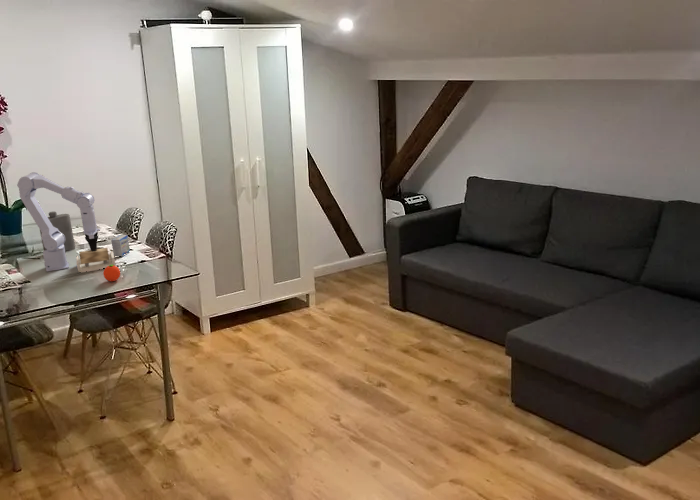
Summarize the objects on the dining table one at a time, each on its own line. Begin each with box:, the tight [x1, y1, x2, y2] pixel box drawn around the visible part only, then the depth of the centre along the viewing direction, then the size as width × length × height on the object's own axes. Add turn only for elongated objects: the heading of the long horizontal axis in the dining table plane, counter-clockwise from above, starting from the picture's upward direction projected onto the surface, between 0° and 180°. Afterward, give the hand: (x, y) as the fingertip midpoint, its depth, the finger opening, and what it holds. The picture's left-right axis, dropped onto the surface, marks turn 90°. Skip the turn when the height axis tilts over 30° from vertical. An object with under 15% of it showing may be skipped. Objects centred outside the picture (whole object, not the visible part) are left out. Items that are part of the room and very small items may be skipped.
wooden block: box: [78, 247, 109, 264], centre depth 316 cm, size 12×4×4 cm, turn 110°
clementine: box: [102, 265, 121, 282], centre depth 299 cm, size 8×7×7 cm
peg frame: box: [75, 250, 116, 274], centre depth 318 cm, size 16×11×4 cm
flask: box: [39, 211, 76, 252], centre depth 339 cm, size 15×6×20 cm, turn 135°
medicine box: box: [111, 234, 131, 257], centre depth 332 cm, size 8×4×9 cm, turn 168°
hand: (93, 249), depth 316 cm, fingers open, 4 cm apart
